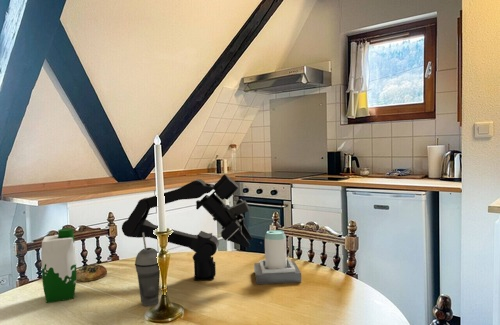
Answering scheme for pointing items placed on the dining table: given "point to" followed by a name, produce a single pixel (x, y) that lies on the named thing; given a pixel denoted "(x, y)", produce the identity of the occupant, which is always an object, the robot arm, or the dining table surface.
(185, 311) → the dining table surface
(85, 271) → the bread roll
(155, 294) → the beverage cup
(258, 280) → the grey rectangular tray
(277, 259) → the can
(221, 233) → the robot arm
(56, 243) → the milk carton
